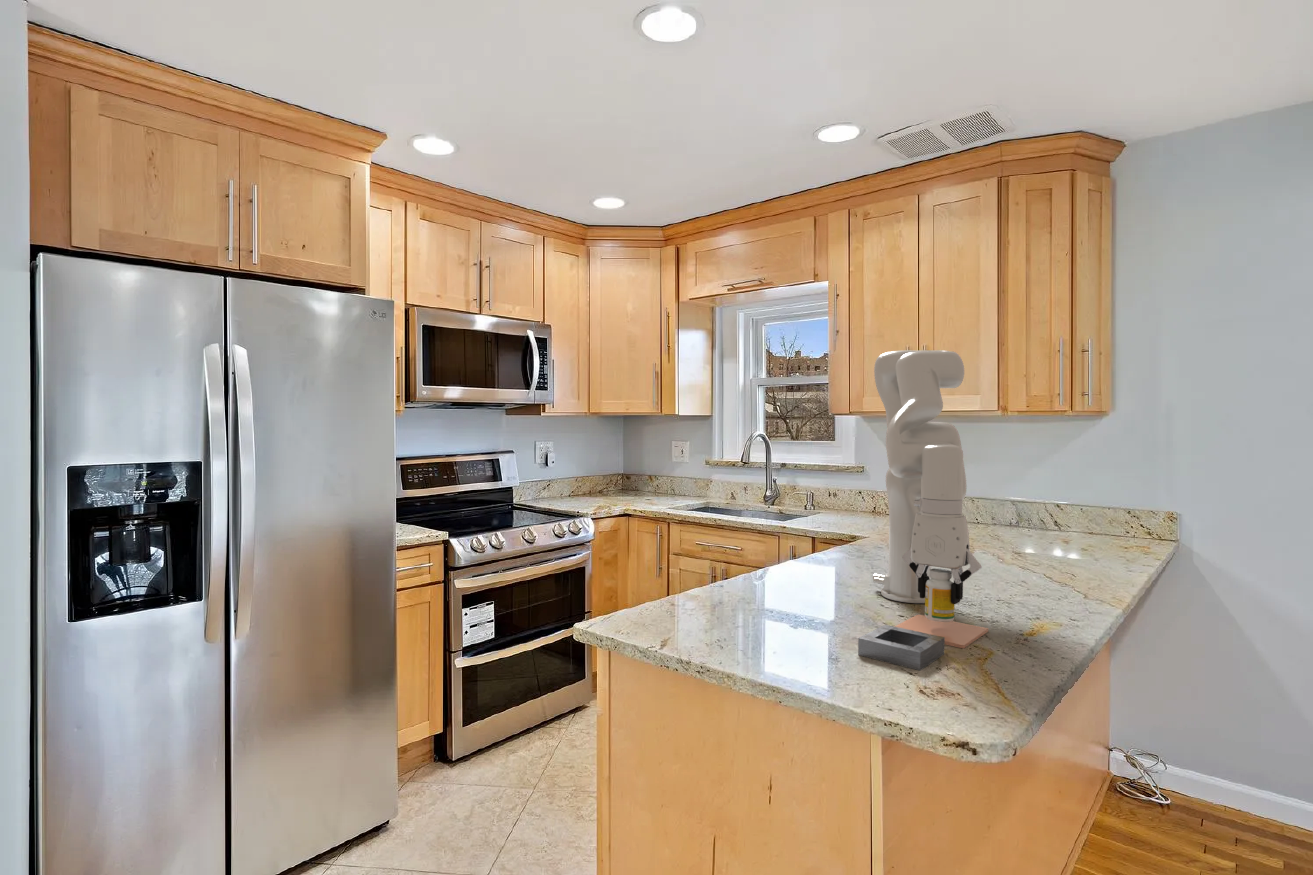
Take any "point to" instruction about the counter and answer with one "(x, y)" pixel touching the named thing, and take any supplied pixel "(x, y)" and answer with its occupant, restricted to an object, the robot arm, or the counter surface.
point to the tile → (945, 630)
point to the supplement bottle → (939, 596)
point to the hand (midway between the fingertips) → (939, 598)
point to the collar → (901, 646)
